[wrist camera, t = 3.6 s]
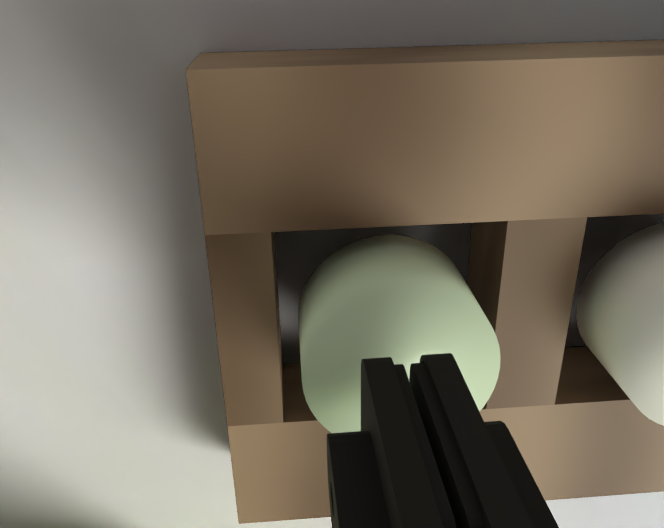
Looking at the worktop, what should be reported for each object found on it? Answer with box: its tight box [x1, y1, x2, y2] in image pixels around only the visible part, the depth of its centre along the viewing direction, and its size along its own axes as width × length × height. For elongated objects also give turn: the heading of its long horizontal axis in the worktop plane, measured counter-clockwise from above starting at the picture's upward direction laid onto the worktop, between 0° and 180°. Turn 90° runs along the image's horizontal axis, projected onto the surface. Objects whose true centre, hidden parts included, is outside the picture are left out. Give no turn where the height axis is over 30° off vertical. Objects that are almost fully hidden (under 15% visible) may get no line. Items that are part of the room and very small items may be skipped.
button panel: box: [186, 40, 664, 524], centre depth 16 cm, size 22×12×2 cm, turn 91°
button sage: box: [298, 235, 501, 433], centre depth 14 cm, size 4×4×2 cm
